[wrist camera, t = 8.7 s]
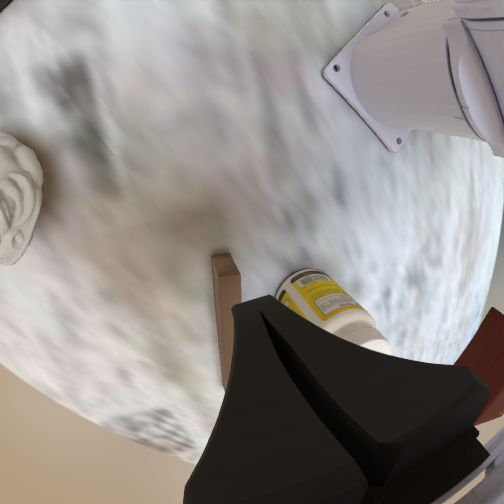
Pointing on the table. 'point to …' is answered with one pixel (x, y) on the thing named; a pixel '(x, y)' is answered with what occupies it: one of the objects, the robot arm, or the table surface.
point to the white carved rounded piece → (18, 197)
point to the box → (488, 362)
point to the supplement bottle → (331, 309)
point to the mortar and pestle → (3, 3)
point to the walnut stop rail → (225, 307)
